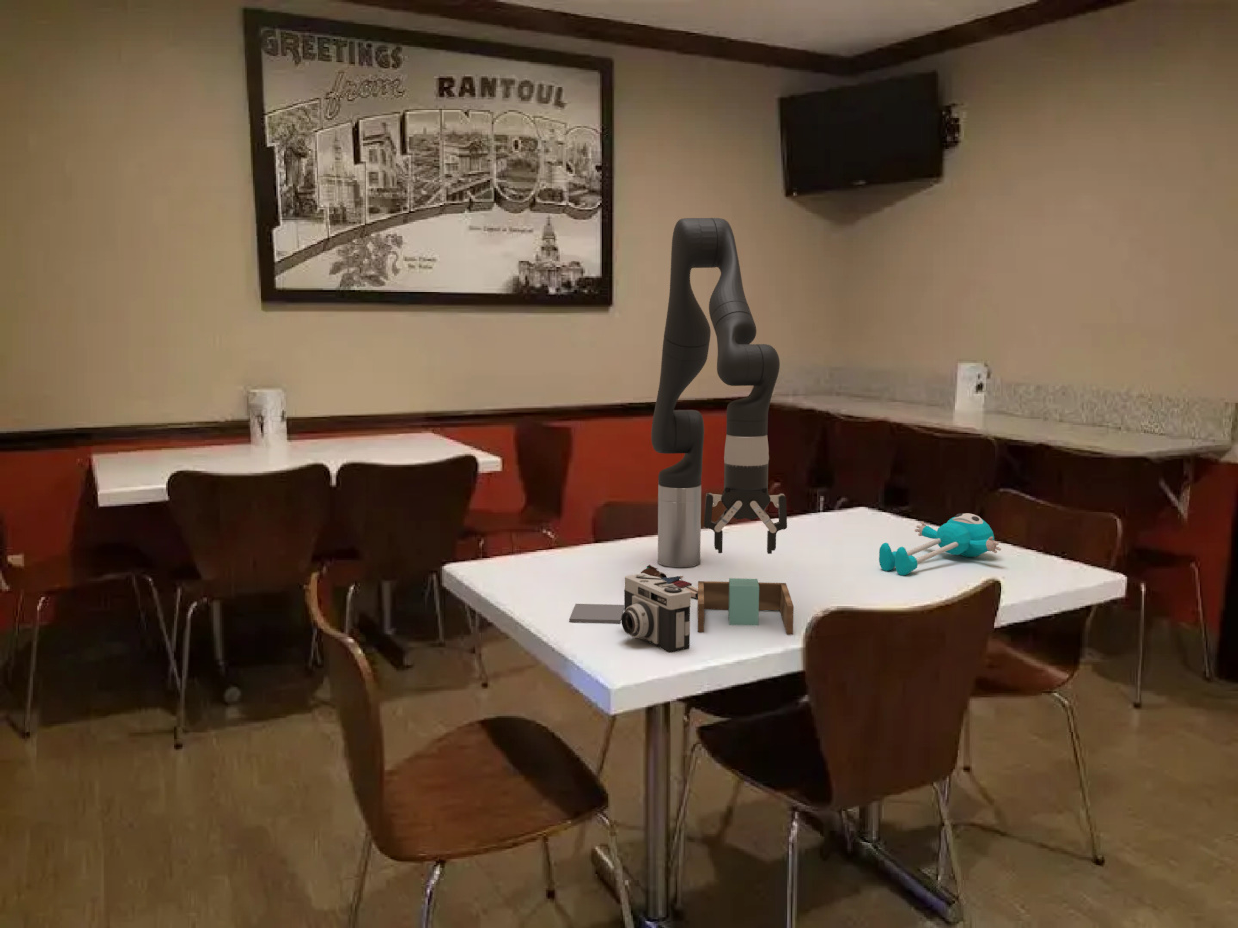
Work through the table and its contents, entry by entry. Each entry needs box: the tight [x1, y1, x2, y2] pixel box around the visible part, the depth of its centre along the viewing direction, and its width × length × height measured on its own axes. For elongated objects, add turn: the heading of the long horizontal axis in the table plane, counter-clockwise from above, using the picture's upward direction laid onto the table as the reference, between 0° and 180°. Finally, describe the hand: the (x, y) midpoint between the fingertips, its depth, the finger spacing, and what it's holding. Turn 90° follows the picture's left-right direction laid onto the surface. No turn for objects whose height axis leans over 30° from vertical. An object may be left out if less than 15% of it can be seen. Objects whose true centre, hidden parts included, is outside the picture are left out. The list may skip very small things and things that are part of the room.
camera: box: [621, 572, 692, 653], centre depth 160 cm, size 14×8×10 cm, turn 32°
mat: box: [568, 603, 624, 624], centre depth 175 cm, size 9×9×1 cm
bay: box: [697, 580, 795, 635], centre depth 171 cm, size 14×16×5 cm
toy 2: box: [878, 513, 1002, 577], centre depth 210 cm, size 22×10×30 cm
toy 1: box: [640, 564, 698, 601], centre depth 189 cm, size 14×5×15 cm
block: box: [727, 577, 760, 626], centre depth 171 cm, size 5×5×7 cm
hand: (744, 552), depth 170 cm, fingers open, 8 cm apart
